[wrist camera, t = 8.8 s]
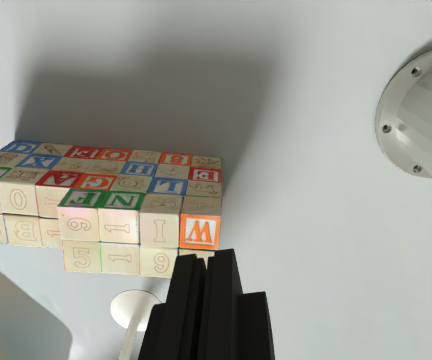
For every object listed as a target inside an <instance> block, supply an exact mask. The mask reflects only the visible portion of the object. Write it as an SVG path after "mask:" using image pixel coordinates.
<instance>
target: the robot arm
mask: <svg viewBox="0 0 432 360" xmlns="http://www.w3.org/2000/svg"><path fill="white" fill-rule="evenodd" d="M414 68H415V71H414V72H413V73H412V70H413V69H414ZM384 125H386V127H385V128H383V126H384ZM375 131H376V136H377V140H378V143H379V145H380V147H381V150H382V152H383V153H384V154H385V155H386V157H387V158H388V159H389V160H390V161H391V162H392V163H393V164H394V165H395V166H396V167H398V168H399V169H401V170H402V171H404V172H406V173H408V174H411V175H413V176H417V177H424V178H432V50H431V51H429V52H426V53H424V54H422V55H420V56H419V57H417V58H415V59H414V60H412V61H411V62H409V63H408V64H407V65H406V66H405V67H403V68H402V69H401V70H400V71H399V72H398V73H397V74H396V76H395V77H394V78H393V79H392V80H391V81H390V83H389V84H388V86H387V88H386V89H385V91H384V93H383V94H382V97H381V99H380V102H379V104H378V108H377V113H376V118H375ZM414 166H415V167H414ZM138 360H275V355H274V345H273V337H272V329H271V322H270V315H269V309H268V303H267V298H266V293H265V291H264V292H255V293H247V294H243V291H242V286H241V281H240V276H239V271H238V266H237V261H236V257H235V252H234V249H226V250H218V251H215V252H214V256H210V257H208V261H207V269H206V265H205V261H204V258H197V255H196V254H187V255H179V256H177V257H176V260H175V264H174V268H173V273H172V277H171V281H170V286H169V290H168V294H167V299H166V303H160V304H154V305H153V307H152V309H151V313H150V317H149V320H148V324H147V328H146V331H145V335H144V339H143V342H142V346H141V350H140V354H139V357H138Z"/></svg>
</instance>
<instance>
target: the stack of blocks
mask: <svg viewBox="0 0 432 360" xmlns="http://www.w3.org/2000/svg"><path fill="white" fill-rule="evenodd" d="M221 169H222V159H221V158H214V157H203V156H193V155H190V154H178V153H167V152H156V151H145V150H133V151H130V150H119V149H108V148H104V149H101V148H90V147H78V146H75V147H74V146H73V145H65V144H53V143H39V142H26V141H12V142H11V143H9V144H8V145H7V146H5V147H4V148H2V149H1V150H0V244H9V245H18V246H33V247H46V248H59V249H63V254H64V265H65V271H71V272H86V273H109V274H125V275H140V276H146V277H160V278H171V277H172V273H173V268H174V264H175V260H176V257H177V256H179V255H187V254H196V255H197V258H204V261H205V265H206V269H207V261H208V257H210V256H214V252H215V251H218V245H219V235H220V224H221V204H222V172H221Z"/></svg>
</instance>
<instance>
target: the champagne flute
mask: <svg viewBox="0 0 432 360" xmlns="http://www.w3.org/2000/svg"><path fill="white" fill-rule="evenodd" d="M160 303H161V302H160V301H159V300H158V299H157V298H156V297H155V296H153V295H152V294H150V293H147V292H144V291H140V290H129V291H125V292H122V293H120V294H119V295H117V296H116V297H115V298H114V299H113V301H112V303H111V313H112V316H113V318H114V319H115V320H116V322H117V323H119V324H120V325H121V326H123V327H125V328H127V331H126V335H125V338H124V341H123V345H122V348H121V351H120V355H119V358H118V360H129V359H130V355H131V352H132V348H133V344H134V340H135V337H136V333H137V331H146V328H147V324H148V320H149V317H150V313H151V309H152V307H153V305H154V304H160Z"/></svg>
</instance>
